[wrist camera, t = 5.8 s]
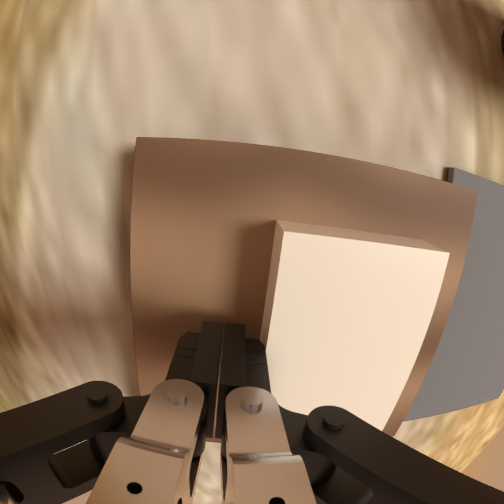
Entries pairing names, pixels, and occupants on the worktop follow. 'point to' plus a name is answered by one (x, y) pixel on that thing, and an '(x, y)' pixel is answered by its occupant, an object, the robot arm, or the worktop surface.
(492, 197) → the mat
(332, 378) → the cream rectangular block
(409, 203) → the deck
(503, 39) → the coffee mug
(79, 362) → the worktop surface
